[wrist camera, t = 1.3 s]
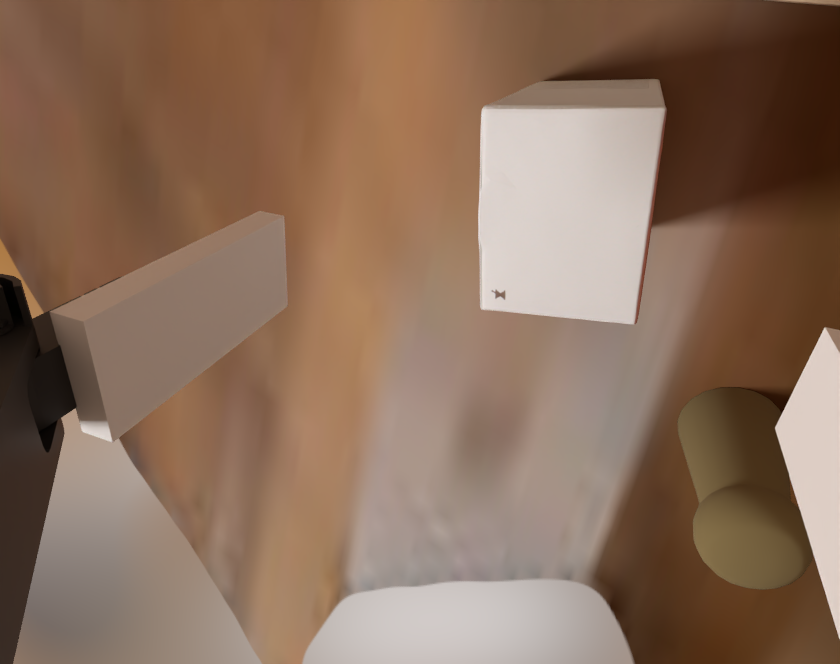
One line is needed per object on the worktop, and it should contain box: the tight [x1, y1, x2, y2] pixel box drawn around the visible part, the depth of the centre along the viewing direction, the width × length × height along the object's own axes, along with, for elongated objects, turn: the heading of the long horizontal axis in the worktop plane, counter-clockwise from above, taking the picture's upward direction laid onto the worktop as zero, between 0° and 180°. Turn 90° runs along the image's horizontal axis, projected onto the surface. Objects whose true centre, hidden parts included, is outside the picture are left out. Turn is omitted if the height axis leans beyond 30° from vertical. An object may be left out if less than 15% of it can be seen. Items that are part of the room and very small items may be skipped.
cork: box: [678, 387, 813, 589], centre depth 32 cm, size 6×6×11 cm
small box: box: [478, 79, 667, 325], centre depth 26 cm, size 8×6×13 cm
